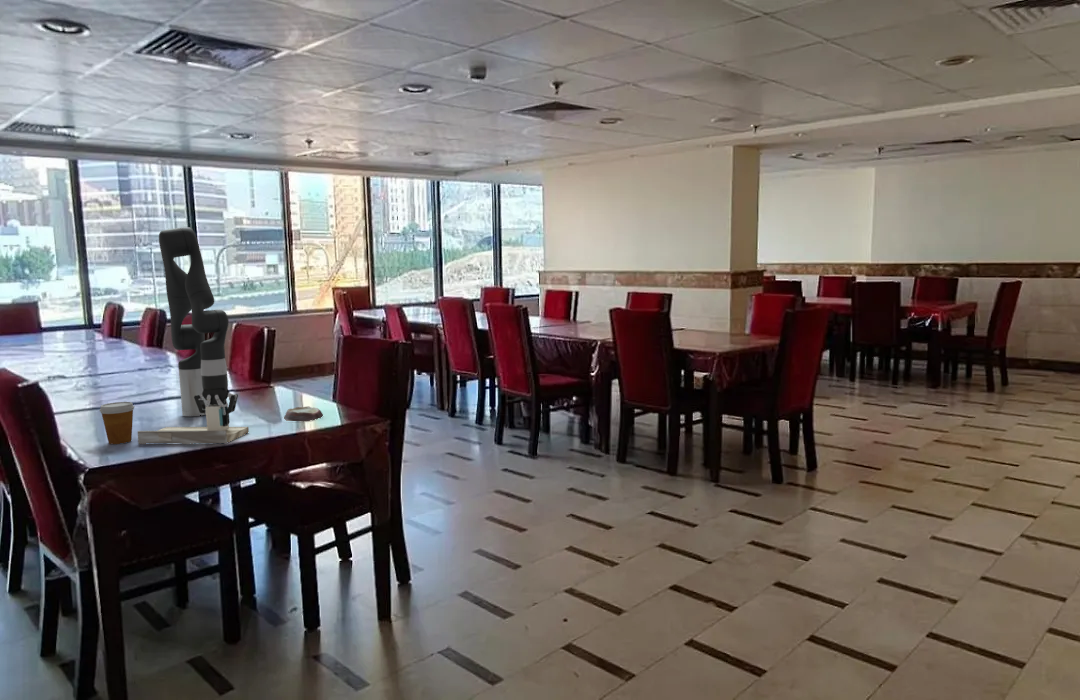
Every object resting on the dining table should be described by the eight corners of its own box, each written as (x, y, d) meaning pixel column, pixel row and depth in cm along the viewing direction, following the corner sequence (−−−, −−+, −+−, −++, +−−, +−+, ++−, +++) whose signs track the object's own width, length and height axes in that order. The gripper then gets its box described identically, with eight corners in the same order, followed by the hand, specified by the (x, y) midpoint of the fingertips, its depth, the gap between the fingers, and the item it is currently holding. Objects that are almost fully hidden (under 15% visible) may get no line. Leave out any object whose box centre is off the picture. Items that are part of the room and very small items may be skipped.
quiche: (258, 424, 259) (257, 412, 258) (297, 412, 278) (296, 402, 277) (307, 427, 251) (306, 416, 251) (344, 415, 270) (343, 405, 269)
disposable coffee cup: (95, 445, 229) (92, 407, 227) (114, 438, 238) (111, 401, 237) (125, 445, 228) (122, 407, 227) (143, 438, 237) (140, 401, 236)
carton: (217, 427, 241) (215, 403, 240) (229, 427, 241) (227, 403, 240) (207, 431, 235) (205, 407, 234) (220, 431, 235) (218, 406, 234)
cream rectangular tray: (166, 433, 244) (165, 421, 244) (248, 432, 242) (247, 420, 241) (137, 444, 229) (136, 431, 228) (224, 444, 226) (223, 431, 226)
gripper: (241, 371, 239) (245, 423, 241) (199, 371, 240) (203, 423, 242) (229, 374, 232) (233, 428, 234) (186, 375, 233) (190, 428, 235)
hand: (218, 425), depth 238 cm, fingers closed on carton, 4 cm apart
